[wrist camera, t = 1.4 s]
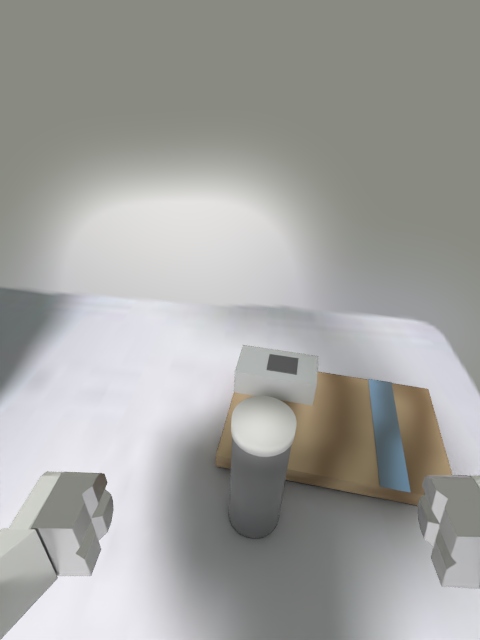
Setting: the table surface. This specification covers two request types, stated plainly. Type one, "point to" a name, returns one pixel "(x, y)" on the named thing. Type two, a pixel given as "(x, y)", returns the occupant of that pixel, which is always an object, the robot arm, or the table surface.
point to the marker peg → (259, 463)
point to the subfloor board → (360, 438)
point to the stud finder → (276, 374)
